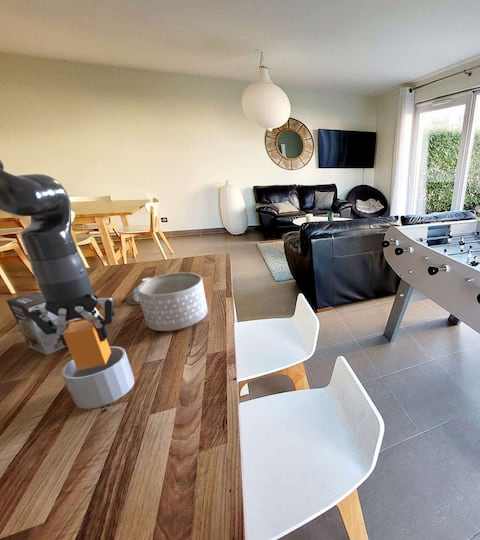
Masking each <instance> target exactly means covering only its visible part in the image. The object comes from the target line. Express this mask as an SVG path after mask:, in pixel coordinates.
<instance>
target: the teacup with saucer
mask: <svg viewBox="0 0 480 540" xmlns="http://www.w3.org/2000/svg"><path fill="white" fill-rule="evenodd" d="M151 278H152V277H145V278H142V280H141V283H142V282H144V281H146V280H148V279H151ZM126 304H127V305H129V306H134V307H135V306H141V303H140V299H139V296H138V292H137V287H135V288H134V289H133V293H132V295H130V296H129V297H128V298H127V299H126Z"/></svg>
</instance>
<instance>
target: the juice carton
mask: <svg viewBox="0 0 480 540" xmlns="http://www.w3.org/2000/svg"><path fill="white" fill-rule="evenodd" d="M63 336H64V338H65V341H66V343H67V346H68V347H67V346H66V347H67V349H68V350H69V353H70V356H71V358H72V359H73V360H74V363H75V365H76V367H77V370H78V371H79V370H84V369H88V368H93V367H97V366H102V365H106V363H107V361H108V358H109V356H110V354H111V350H110V347H111V346H110V345H109V342H108V339H107V338H106V339H105V341H102V342H100V339H99V336H98V334H97V331H96V327H95V326H94V325H93V324H92V323H91V322H88V321H87V320H86V319H84V320H83V319H82V320H75V321H70V322H69V325H68V327H67V329H66V330H65V331H64V333H63Z"/></svg>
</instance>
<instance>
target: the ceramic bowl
mask: <svg viewBox="0 0 480 540" xmlns="http://www.w3.org/2000/svg"><path fill="white" fill-rule="evenodd" d="M109 347H110V350H111V354H110V356H109V358H108V361H107V363H106V365H102V366H97V367H93V368H88V369H84V370H79V371H78V370H77V367H76V365H75V363H74V360H73V358H72V359H71V360H69V361H68V362H67V363H65V365H64V366H63V368H62V369H61V377H62V378H63V381H64V383H65V385H66V387H67V388H66V389H68V392H69V395H70V397H71V399H72V401H73V403H74V405H75V406H76V407H77V408H79V409H82V410H92V409H97V408H98V409H99V408H101V407H104V406H107V405H109V404H112V403H114V402H116V401H118V400H119V399H121V398H123V397H124V396H125V395H127V393H128V392H130V391H131V390H132V388H133V387H134V385H135V382H136V381H135V376H134V374H133V370H132V367H131V364H130V361H129V358H128V355H127V352H126V350H125V348H123V347H122V346H115V345H111V346H109Z"/></svg>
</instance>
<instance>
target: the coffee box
mask: <svg viewBox="0 0 480 540" xmlns="http://www.w3.org/2000/svg"><path fill="white" fill-rule="evenodd" d="M5 301H6V304H7V305H8V307H9V309H10V311H11V314H12V316H13V318H14V319H15V321H16V323H17V325H18V327H19V329H20V332H21V334H22V336H23V338H24V341H25V343H26V344H27V346H28V348H29V349H31V350H34V351H35V352H38V353H40V354H43V355H46V356H48V355H51V354H53V353H55V352H57V351H60V350H63V349H64V348H67V346H64V345H63V343H62V341H61V339H60V336H59V335H58V334H53V333H51V334H49V335H47V334H45V333H44V332H43V331H42V330H41V329H40V328H39V327H38V326H37V324H36V323H35V322H34V321H33V320H32V319H31V318H30V316H29V315H28V313H29V312H30V311H31V310H32V309H34V308H35V307H42V306H45V305H46V301H45V300H44V298H43V295H42V293H41V292H38V291H34V292H30V293H28V294H21V295H19V296H16V297H12V298H10V299H7V300H5ZM47 312H48V314H47V315H48V316H49V318H50V319H51V320H52V321H53V322H54V323H55V325H57V320H58V316H56V315H54V314H52V313H51V312H49V311H47Z"/></svg>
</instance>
